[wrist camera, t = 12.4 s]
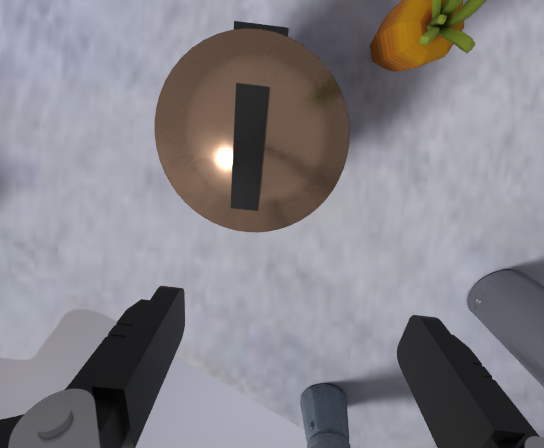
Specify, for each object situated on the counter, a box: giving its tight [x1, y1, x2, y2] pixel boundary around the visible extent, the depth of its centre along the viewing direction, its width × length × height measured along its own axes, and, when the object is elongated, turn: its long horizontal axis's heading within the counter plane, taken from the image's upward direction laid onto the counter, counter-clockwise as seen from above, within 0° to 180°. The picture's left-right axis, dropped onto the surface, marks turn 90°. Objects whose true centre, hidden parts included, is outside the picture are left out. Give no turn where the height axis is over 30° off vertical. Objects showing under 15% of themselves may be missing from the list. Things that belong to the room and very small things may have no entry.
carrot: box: [370, 0, 486, 71], centre depth 21 cm, size 5×5×15 cm
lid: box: [155, 28, 349, 232], centre depth 20 cm, size 15×15×5 cm
